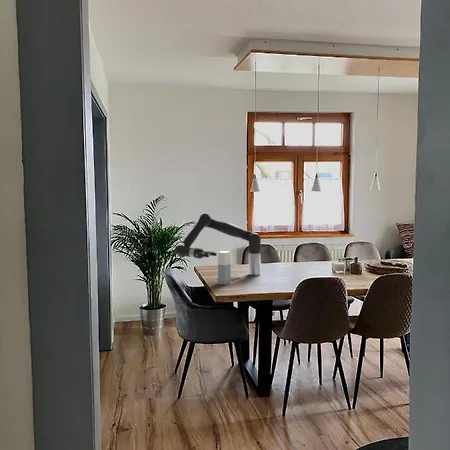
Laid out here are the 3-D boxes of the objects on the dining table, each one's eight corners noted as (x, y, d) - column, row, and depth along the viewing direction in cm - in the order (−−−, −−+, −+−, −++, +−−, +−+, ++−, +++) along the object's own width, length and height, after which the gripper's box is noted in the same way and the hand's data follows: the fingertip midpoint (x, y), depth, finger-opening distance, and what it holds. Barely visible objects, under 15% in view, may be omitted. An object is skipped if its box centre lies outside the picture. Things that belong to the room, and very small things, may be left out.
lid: (223, 263, 340) (223, 251, 339) (230, 264, 336) (230, 251, 335) (217, 264, 335) (217, 252, 334) (224, 265, 331) (224, 252, 330)
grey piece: (223, 282, 341) (223, 263, 340) (230, 283, 337) (230, 264, 336) (217, 283, 336) (217, 264, 335) (224, 284, 332) (224, 265, 331)
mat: (227, 276, 363) (227, 275, 363) (239, 278, 355) (239, 277, 355) (217, 278, 353) (217, 278, 353) (229, 280, 346) (229, 280, 346)
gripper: (189, 249, 347) (206, 251, 336) (202, 247, 358) (218, 249, 347) (189, 259, 347) (206, 261, 337) (202, 257, 358) (218, 259, 348)
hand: (212, 255), depth 342 cm, fingers open, 8 cm apart
